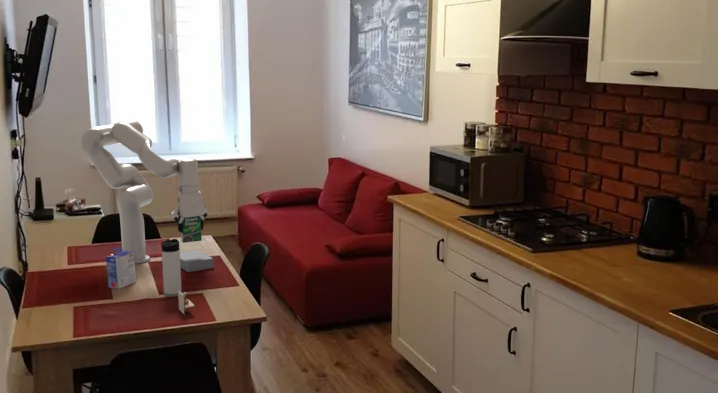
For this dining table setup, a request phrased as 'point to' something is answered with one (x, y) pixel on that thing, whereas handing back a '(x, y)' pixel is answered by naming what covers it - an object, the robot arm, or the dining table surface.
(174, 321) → the dining table surface
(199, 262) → the base block
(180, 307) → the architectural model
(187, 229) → the coffee box
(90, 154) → the robot arm
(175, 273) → the travel mug
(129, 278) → the ink cartridge box
